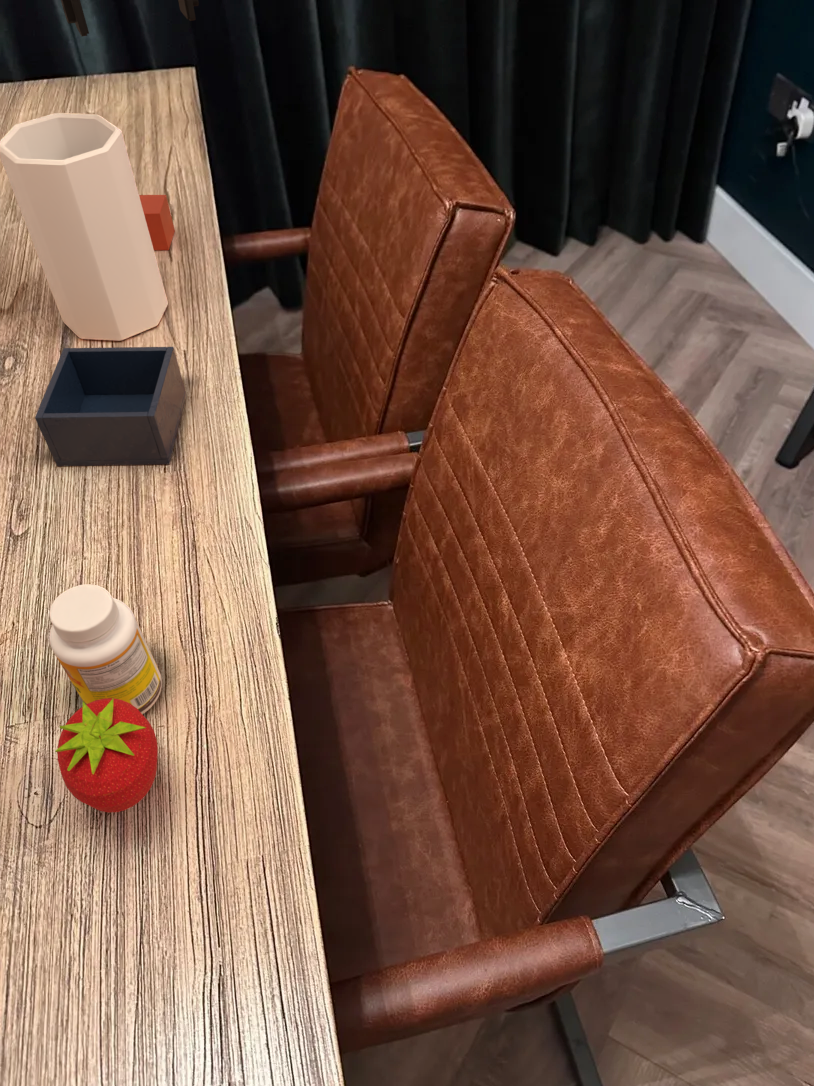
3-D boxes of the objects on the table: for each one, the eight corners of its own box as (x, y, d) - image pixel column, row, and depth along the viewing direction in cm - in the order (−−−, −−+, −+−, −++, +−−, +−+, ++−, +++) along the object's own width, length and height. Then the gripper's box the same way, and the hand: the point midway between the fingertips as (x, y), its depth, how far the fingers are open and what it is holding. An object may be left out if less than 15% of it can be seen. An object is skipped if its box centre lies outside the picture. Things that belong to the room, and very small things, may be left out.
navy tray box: (56, 466, 79) (34, 417, 75) (82, 396, 86) (63, 347, 81) (169, 464, 79) (154, 415, 75) (186, 394, 86) (173, 346, 82)
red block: (130, 250, 103) (119, 213, 100) (137, 231, 106) (127, 194, 102) (168, 250, 103) (159, 213, 100) (175, 231, 106) (166, 194, 103)
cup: (162, 278, 99) (115, 104, 85) (175, 332, 93) (126, 153, 78) (60, 295, 97) (-6, 119, 83) (66, 351, 90) (-5, 170, 76)
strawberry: (165, 733, 62) (126, 650, 54) (186, 825, 57) (147, 749, 50) (79, 761, 60) (26, 679, 52) (95, 858, 56) (39, 785, 48)
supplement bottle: (88, 668, 65) (39, 579, 57) (164, 657, 66) (126, 568, 58) (83, 732, 62) (31, 647, 54) (163, 719, 62) (123, 633, 54)
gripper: (175, -248, 71) (217, -2, 84) (-50, -235, 66) (32, 23, 79) (199, -233, 66) (239, 23, 80) (-40, -218, 62) (45, 52, 75)
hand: (136, 23), depth 80 cm, fingers open, 9 cm apart
